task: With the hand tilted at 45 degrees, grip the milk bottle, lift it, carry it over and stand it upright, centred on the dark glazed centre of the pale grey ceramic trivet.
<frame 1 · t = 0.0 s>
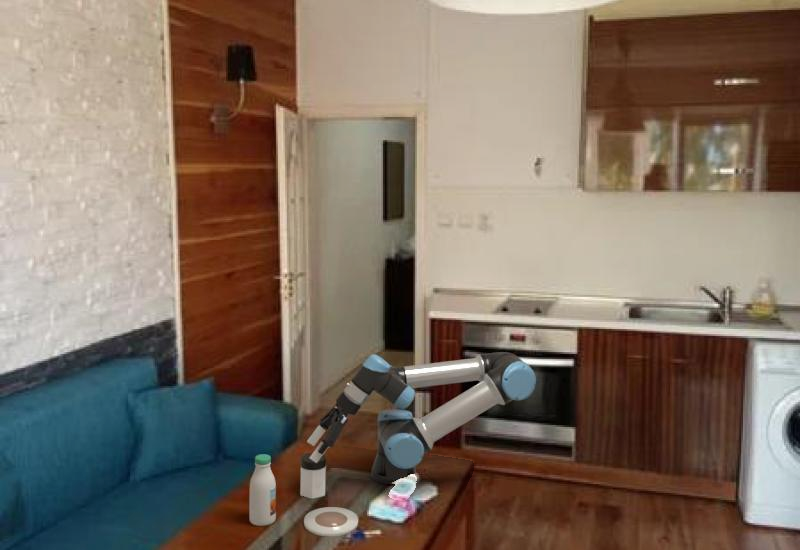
hand: (311, 451, 241), 15 cm above the table, tool tilted 35°, fingers open, 13 cm apart
trivet: (331, 523, 227), on the table
jar: (313, 493, 247), on the table
milk bottle: (262, 521, 227), on the table
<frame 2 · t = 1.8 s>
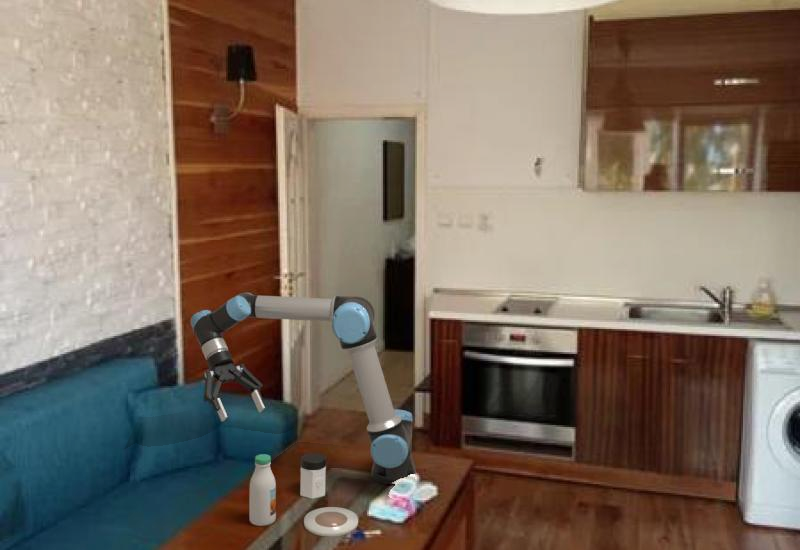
hand: (243, 414, 234), 29 cm above the table, tool tilted 45°, fingers open, 13 cm apart
nothing on the table moved.
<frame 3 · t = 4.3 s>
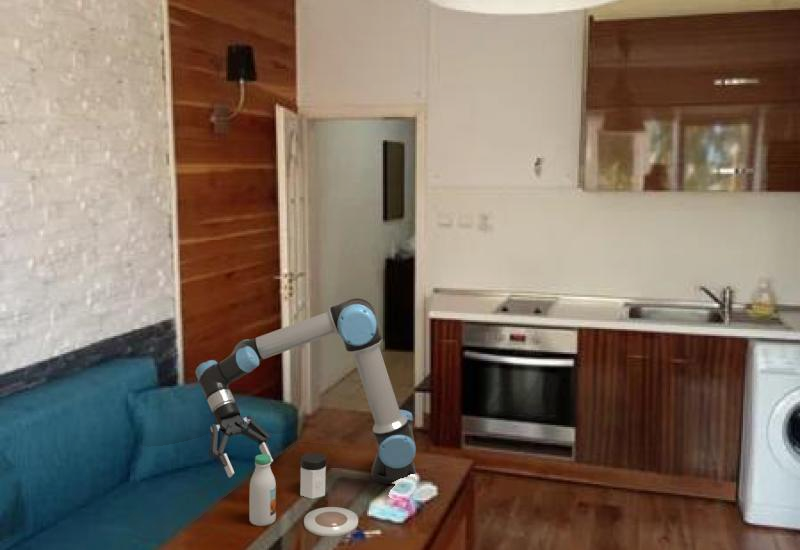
hand: (251, 469, 228), 15 cm above the table, tool tilted 45°, fingers open, 13 cm apart
nothing on the table moved.
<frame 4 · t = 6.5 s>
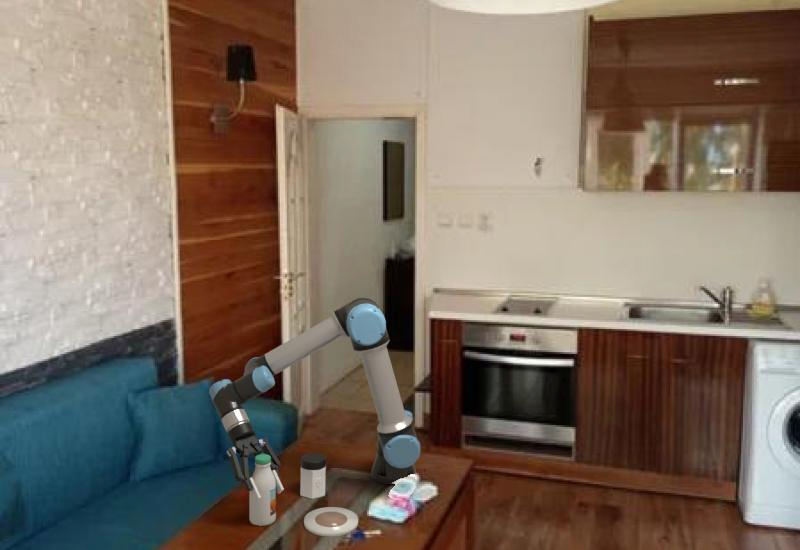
hand: (269, 495, 223), 9 cm above the table, tool tilted 45°, fingers closed on milk bottle, 7 cm apart
milk bottle: (262, 521, 227), on the table, touching gripper
everything else where it was.
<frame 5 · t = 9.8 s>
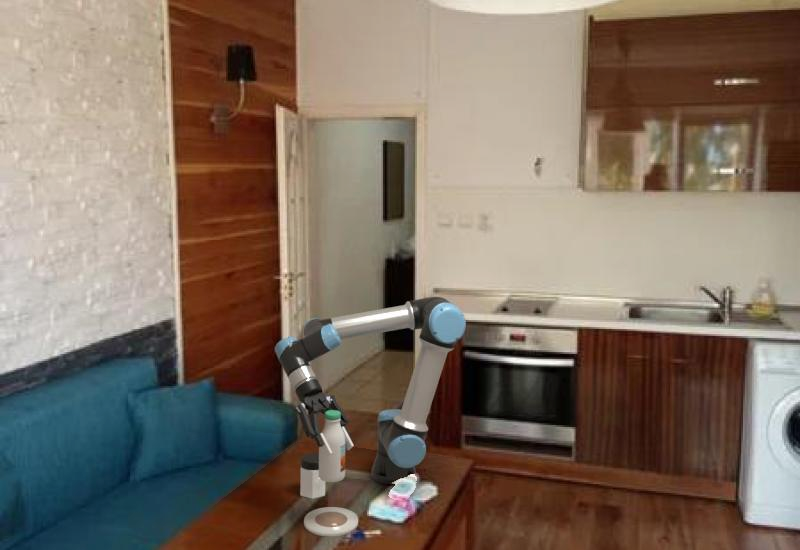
hand: (340, 451, 221), 23 cm above the table, tool tilted 45°, fingers closed on milk bottle, 7 cm apart
milk bottle: (331, 478, 225), point 14 cm above the table, touching gripper
everything else where it was.
when the fingers open (12 cm above the table, at t = 13.0 s): milk bottle drops 1 cm, resting on trivet.
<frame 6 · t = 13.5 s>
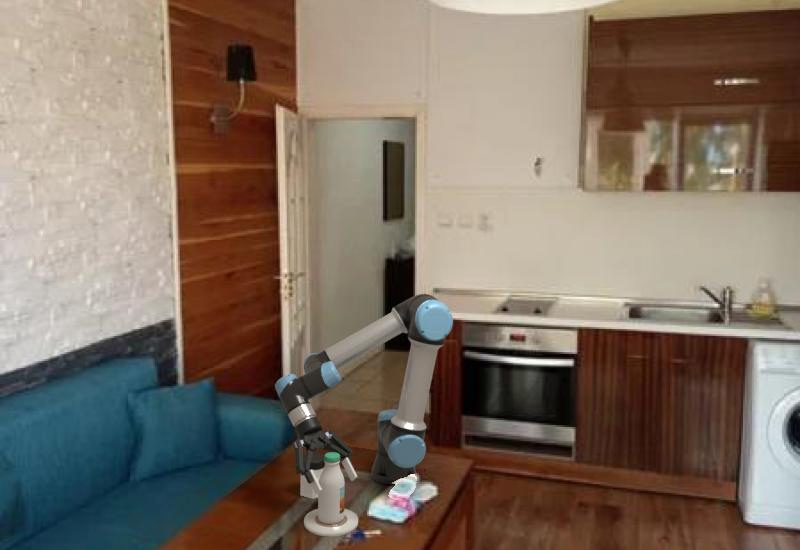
hand: (337, 485, 223), 13 cm above the table, tool tilted 45°, fingers open, 13 cm apart
milk bottle: (331, 519, 227), point 1 cm above the table, touching trivet
everything else where it was.
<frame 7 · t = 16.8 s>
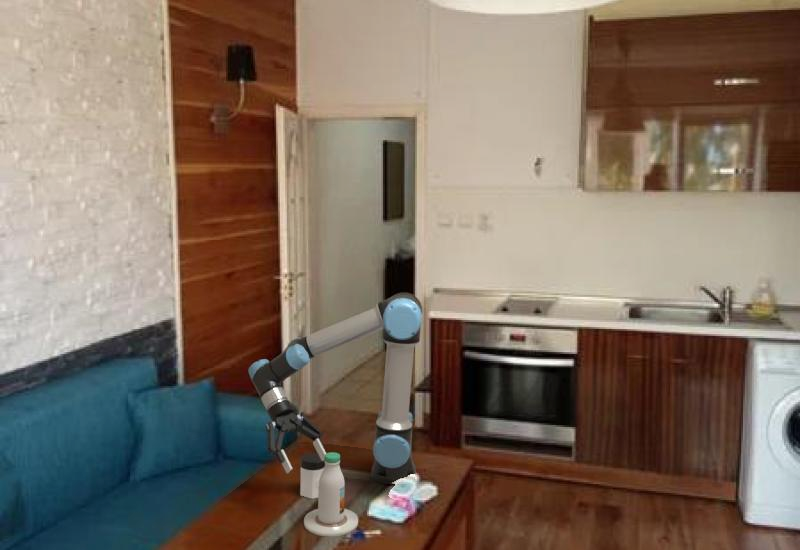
hand: (307, 464, 233), 15 cm above the table, tool tilted 45°, fingers open, 13 cm apart
nothing on the table moved.
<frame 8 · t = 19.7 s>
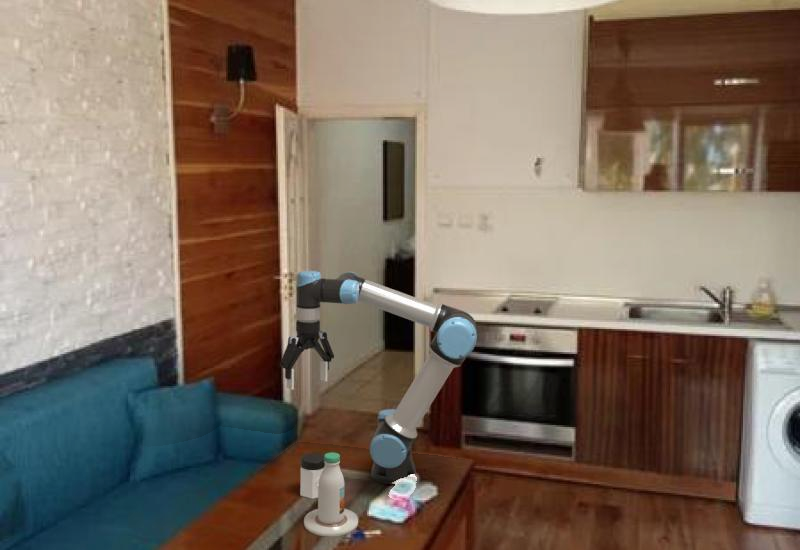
hand: (307, 384, 246), 35 cm above the table, tool pointing down, fingers open, 13 cm apart
nothing on the table moved.
at the end: milk bottle 0.1 cm from the trivet (horizontally); milk bottle tilted 0°; the gripper is holding nothing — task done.
